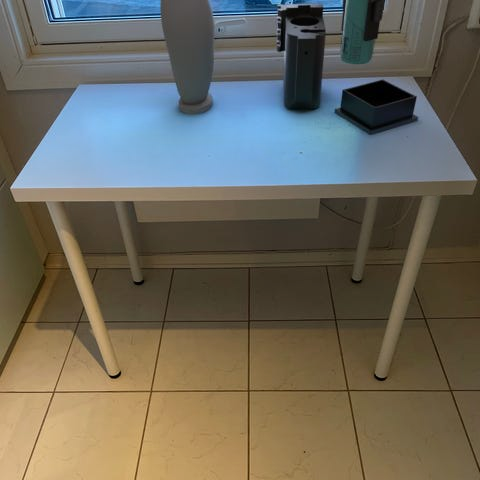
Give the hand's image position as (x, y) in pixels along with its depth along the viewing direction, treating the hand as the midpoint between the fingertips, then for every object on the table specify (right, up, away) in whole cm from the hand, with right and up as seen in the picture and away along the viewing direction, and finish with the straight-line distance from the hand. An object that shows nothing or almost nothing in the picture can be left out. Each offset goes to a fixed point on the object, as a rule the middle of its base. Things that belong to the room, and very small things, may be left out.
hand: (358, 34), depth 100 cm
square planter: (+12, -3, +34) cm, 36 cm away
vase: (-35, +3, +42) cm, 55 cm away
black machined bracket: (-7, +6, +43) cm, 44 cm away
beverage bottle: (0, -4, +4) cm, 6 cm away
